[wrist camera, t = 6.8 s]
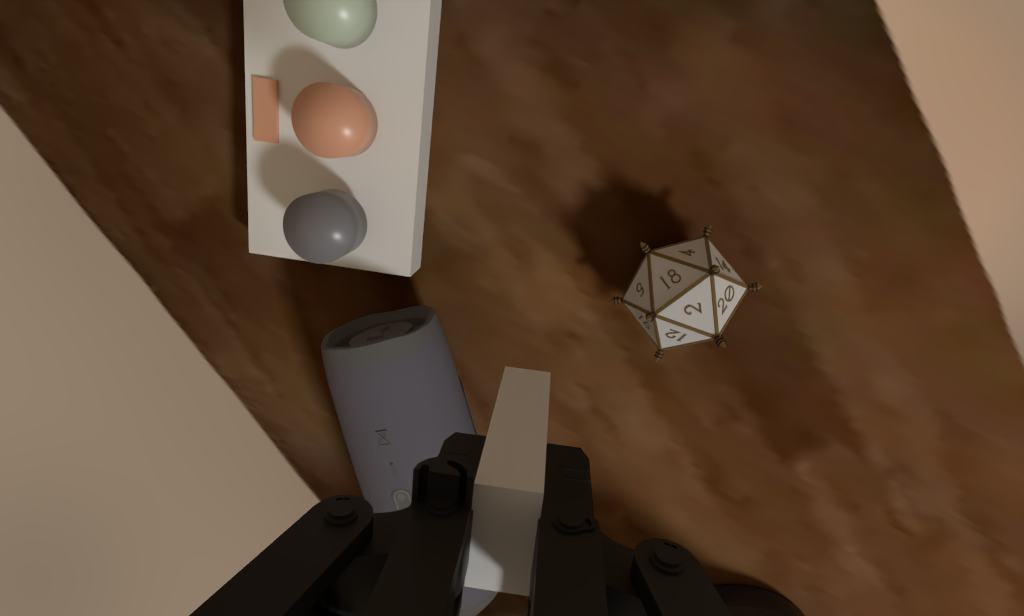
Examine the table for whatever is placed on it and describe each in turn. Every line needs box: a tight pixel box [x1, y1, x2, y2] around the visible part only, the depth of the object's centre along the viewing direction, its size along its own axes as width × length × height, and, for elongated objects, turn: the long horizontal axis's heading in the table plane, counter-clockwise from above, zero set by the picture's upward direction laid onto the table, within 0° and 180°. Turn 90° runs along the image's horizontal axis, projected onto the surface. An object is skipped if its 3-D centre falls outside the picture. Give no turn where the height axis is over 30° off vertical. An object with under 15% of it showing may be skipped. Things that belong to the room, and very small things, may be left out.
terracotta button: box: [291, 82, 378, 159], centre depth 34 cm, size 4×4×3 cm
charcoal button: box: [283, 189, 367, 264], centre depth 35 cm, size 4×4×3 cm
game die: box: [609, 224, 762, 361], centre depth 37 cm, size 9×8×10 cm
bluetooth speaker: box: [321, 306, 498, 616], centre depth 41 cm, size 23×9×10 cm, turn 12°
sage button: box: [283, 0, 377, 49], centre depth 31 cm, size 4×4×3 cm
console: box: [243, 0, 442, 277], centre depth 37 cm, size 20×12×3 cm, turn 173°
